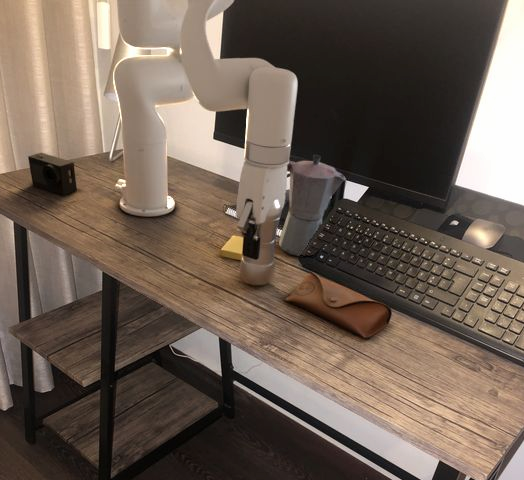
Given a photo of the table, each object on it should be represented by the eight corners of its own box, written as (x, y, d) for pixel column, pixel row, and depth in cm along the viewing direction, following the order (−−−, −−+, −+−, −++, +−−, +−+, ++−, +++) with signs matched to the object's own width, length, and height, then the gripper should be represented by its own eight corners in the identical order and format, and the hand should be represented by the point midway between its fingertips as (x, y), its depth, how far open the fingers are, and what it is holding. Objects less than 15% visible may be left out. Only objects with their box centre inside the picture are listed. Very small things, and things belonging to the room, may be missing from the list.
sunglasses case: (281, 299, 100) (295, 265, 99) (297, 303, 106) (311, 271, 105) (368, 340, 92) (385, 303, 91) (380, 342, 98) (396, 308, 97)
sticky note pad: (220, 256, 113) (220, 249, 112) (233, 241, 119) (233, 234, 118) (255, 263, 112) (256, 257, 111) (266, 248, 118) (267, 242, 117)
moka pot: (330, 263, 114) (347, 167, 103) (257, 251, 116) (266, 155, 104) (335, 244, 122) (351, 152, 110) (266, 233, 124) (275, 141, 112)
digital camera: (28, 186, 134) (23, 157, 130) (45, 180, 138) (41, 151, 134) (60, 196, 130) (56, 167, 126) (77, 190, 134) (73, 161, 130)
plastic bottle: (237, 272, 108) (244, 170, 96) (272, 273, 109) (282, 172, 97) (239, 289, 103) (246, 184, 91) (275, 290, 104) (287, 186, 92)
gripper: (272, 136, 99) (263, 230, 110) (220, 158, 87) (216, 262, 97) (309, 145, 97) (297, 241, 107) (262, 170, 84) (253, 275, 95)
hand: (258, 250), depth 102 cm, fingers closed on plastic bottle, 5 cm apart
